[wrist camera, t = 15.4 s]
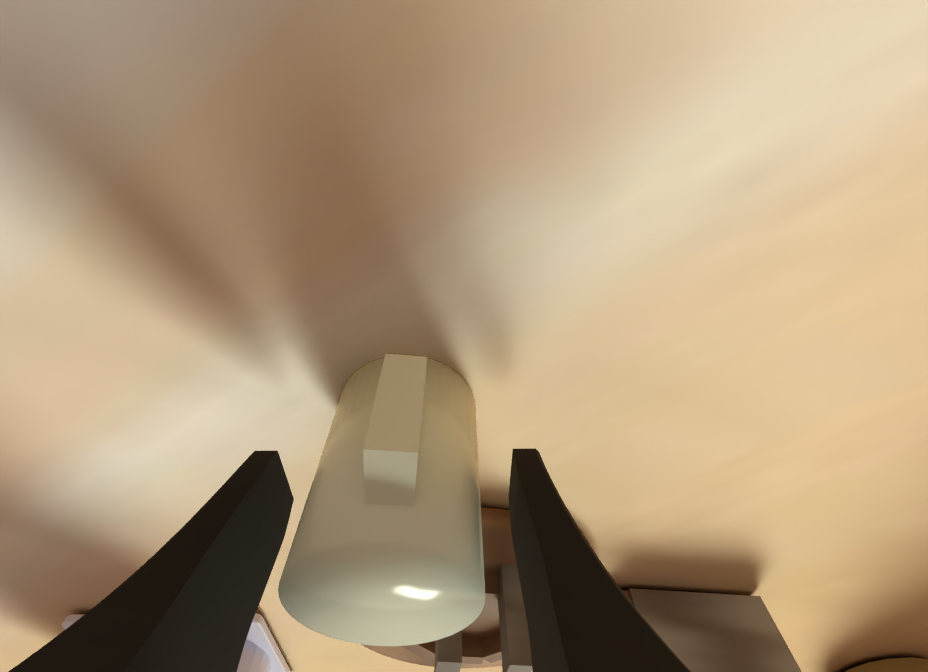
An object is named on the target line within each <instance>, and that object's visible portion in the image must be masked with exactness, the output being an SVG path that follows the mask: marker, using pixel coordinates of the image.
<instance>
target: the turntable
mask: <svg viewBox="0 0 928 672" xmlns="http://www.w3.org/2000/svg"><path fill="white" fill-rule="evenodd" d="M481 523H482V542H483V562H484V581H485V605H484V607H483V610H482V612H481V613H480V615H479V616H478V617H477V619H476V620H475V621H474V622H473V623H471V624H470V625H469V626H467V627H466V628H464V629H463V630H461V631H459V632H457V633H455V634H453V635H451V636H448V637H445V638H442V639H439V640H436V641H432V642H427V643H422V644H416V645H407V646H372V645H363V644H361V645H363V646H365V647H367V648H368V649H370V650H373V651H375V652H377V653H380V654H382V655H385V656H388V657H391V658H394V659H397V660H401V661H405V662H409V663H414V664H419V665H426V666H434V667H435V670H434V672H459V671H460V668H484V667H494V666H502V668H503V672H531V670H532V658H531V648H530V639H529V632H528V625H527V618H526V613H525V607H524V602H523V596H522V590H521V585H520V579H519V574H518V568H517V563H516V557H515V551H514V546H513V540H512V533H511V521H510V510H503V509H495V508H481ZM622 591H623V593H624V594H625V595H626V597H627V598H628V599H629V600H630V602H631V603H632V604H633V605H634V607H635V608H636V609H637V610H638V612H639V613H640V614H641V615H642V617H643V618H644V619H645V620H646V621H647V622H648V624H649V625H650V626H651V627H652V628H653V629H654V631H655V632H656V633H657V634H658V635H659V636H660V637H661V639H662V640H663V641H664V642H665V643H666V644H667V646H668V647H669V648H670V649H671V650H672V651H673V652H674V654H675V655H676V656H677V657H678V658H679V659H680V660H681V661H682V662H683V663H684V665H685V666H686V667H687V668H688V669H689V670H690V671H691V672H801V670H800V668H799V666H798V665H797V663H796V661H795V659H794V657H793V655H792V654H791V652H790V650H789V648H788V646H787V644H786V643H785V641H784V639H783V637H782V635H781V634H780V632H779V630H778V628H777V626H776V624H775V623H774V621H773V619H772V617H771V615H770V614H769V612H768V610H767V608H766V606H765V604H764V603H763V601H762V599H761V597H760V596H746V595H730V594H713V593H697V592H680V591H664V590H647V589H630V588H629V590H628V591H625V590H622Z"/></svg>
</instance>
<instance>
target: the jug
mask: <svg viewBox="0 0 928 672" xmlns="http://www.w3.org/2000/svg"><path fill="white" fill-rule="evenodd" d="M278 592H279V598H280V601H281V603H282V605H283V606H284V608H285V610H286V611H287V612H288V613H289V614H290V615H291V616H292V617H293V618H294V619H296V620H297V621H298V622H299V623H301V624H303V625H304V626H306V627H307V628H309V629H311V630H313V631H315V632H318V633H320V634H323V635H325V636H328V637H331V638H334V639H338V640H342V641H346V642H351V643H356V644H363V645H372V646H407V645H416V644H422V643H427V642H432V641H436V640H439V639H442V638H445V637H448V636H451V635H453V634H455V633H457V632H459V631H461V630H463V629H464V628H466V627H467V626H469V625H470V624H471V623H473V622H474V621H475V620H476V619H477V617H478V616H479V615H480V613H481V612H482V610H483V607H484V605H485V581H484V562H483V542H482V523H481V503H480V484H479V464H478V445H477V426H476V407H475V399H474V396H473V393H472V391H471V389H470V387H469V385H468V384H467V382H466V381H465V380H464V379H463V378H462V377H461V376H460V375H459V374H458V373H457V372H456V371H454V370H453V369H451V368H450V367H448V366H447V365H445V364H442V363H440V362H438V361H435V360H433V359H430V358H427V357H423V356H414V355H397V354H385V357H383V358H380V359H377V360H374V361H372V362H370V363H368V364H366V365H364V366H363V367H361V368H360V369H358V370H357V371H356V372H355V373H354V374H353V375H352V376H351V377H350V378H349V380H348V381H347V383H346V385H345V387H344V389H343V392H342V395H341V398H340V401H339V404H338V407H337V410H336V413H335V416H334V419H333V422H332V425H331V428H330V431H329V434H328V437H327V440H326V443H325V446H324V449H323V452H322V455H321V458H320V461H319V464H318V467H317V470H316V473H315V476H314V480H313V483H312V486H311V489H310V492H309V495H308V498H307V501H306V504H305V507H304V510H303V513H302V516H301V519H300V522H299V525H298V528H297V531H296V534H295V537H294V540H293V543H292V546H291V549H290V552H289V555H288V558H287V561H286V564H285V567H284V570H283V573H282V576H281V579H280V582H279V588H278Z"/></svg>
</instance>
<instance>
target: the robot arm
mask: <svg viewBox="0 0 928 672" xmlns="http://www.w3.org/2000/svg"><path fill="white" fill-rule="evenodd" d="M293 500H294V498H293V496H292V493H291V490H290V487H289V484H288V481H287V478H286V475H285V472H284V469H283V466H282V463H281V460H280V457H279V454H278V451H254V452H253V453H252V454H251V455H250V456H249V458H248V459H247V460H246V461H245V462H244V463H243V464H242V465H241V466H240V467H239V468H238V469H237V470H236V472H235V473H234V474H233V475H232V476H231V477H230V478H229V479H228V480H227V481H226V482H225V484H224V485H223V486H222V487H221V488H220V489H219V490H218V491H217V492H216V493H215V494H214V495H213V496H212V497H211V499H210V500H209V501H208V502H207V503H206V504H205V505H204V506H203V507H202V508H201V509H200V510H199V511H198V512H197V513H196V514H195V515H194V516H193V517H192V518H191V519H190V520H189V521H188V522H187V523H186V524H185V525H184V526H183V527H182V528H181V529H180V530H179V531H178V532H177V533H176V534H175V535H174V536H173V537H172V538H171V539H170V540H169V541H168V542H167V543H166V544H165V545H164V546H163V547H162V548H161V549H160V550H159V551H158V552H157V553H156V554H155V555H154V556H152V557H151V558H150V559H149V560H148V561H147V562H146V563H145V564H144V565H143V566H142V567H140V568H139V569H138V570H137V571H136V572H135V573H134V574H133V575H132V576H130V577H129V578H128V579H127V580H126V581H125V582H124V583H122V584H121V585H120V586H119V587H118V588H117V589H115V590H114V591H113V592H112V593H111V594H110V595H108V596H107V597H106V598H105V599H104V600H102V601H101V602H100V603H99V604H97V605H96V606H95V607H94V608H92V609H91V610H90V611H89V612H87V613H86V614H73V615H69V616H67V617H66V619H65V620H64V621H63V623H62V627H63V628H64V629H65V630H64V631H63V632H62V633H60V634H59V635H58V636H57V637H55V638H54V639H53V640H51V641H50V642H49V643H47V644H46V645H45V646H43V647H42V648H41V649H39V650H38V651H37V652H35V653H34V654H32V655H31V656H30V657H28V658H27V659H26V660H24V661H23V662H21V663H20V664H19V665H17V666H16V667H14V668H13V669H12V670H10V671H9V672H291V671H290V669H289V667H288V665H287V663H286V661H285V659H284V657H283V655H282V653H281V652H280V650H279V648H278V646H277V644H276V642H275V640H274V638H273V636H272V634H271V632H270V630H269V628H268V626H267V624H266V623H265V621H264V619H263V617H262V616H261V615H260V614H258V613H256V611H257V608H258V605H259V603H260V600H261V597H262V595H263V592H264V590H265V587H266V584H267V582H268V579H269V576H270V574H271V571H272V569H273V566H274V563H275V561H276V558H277V555H278V553H279V550H280V547H281V544H282V542H283V539H284V536H285V532H286V528H287V525H288V521H289V517H290V512H291V508H292V504H293ZM509 508H510V521H511V533H512V540H513V546H514V551H515V557H516V563H517V568H518V574H519V579H520V585H521V590H522V596H523V602H524V607H525V613H526V618H527V625H528V632H529V639H530V648H531V658H532V668H533V672H691V671H690V670H689V669H688V668H687V667H686V666H685V665H684V663H683V662H682V661H681V660H680V659H679V658H678V657H677V656H676V655H675V654H674V652H673V651H672V650H671V649H670V648H669V647H668V646H667V644H666V643H665V642H664V641H663V640H662V639H661V637H660V636H659V635H658V634H657V633H656V632H655V631H654V629H653V628H652V627H651V626H650V625H649V624H648V622H647V621H646V620H645V619H644V618H643V617H642V615H641V614H640V613H639V612H638V610H637V609H636V608H635V607H634V605H633V604H632V603H631V602H630V600H629V599H628V598H627V597H626V595H625V594H624V593H623V591H622V590H621V589H620V587H619V586H618V585H617V583H616V582H615V581H614V579H613V578H612V577H611V575H610V574H609V573H608V571H607V570H606V568H605V567H604V566H603V564H602V563H601V561H600V560H599V558H598V557H597V556H596V554H595V553H594V551H593V550H592V548H591V546H590V545H589V543H588V542H587V540H586V539H585V537H584V536H583V534H582V533H581V531H580V529H579V528H578V526H577V525H576V523H575V521H574V519H573V518H572V516H571V514H570V513H569V511H568V509H567V508H566V506H565V504H564V502H563V501H562V499H561V497H560V495H559V493H558V491H557V489H556V488H555V486H554V484H553V482H552V480H551V478H550V476H549V474H548V472H547V469H546V467H545V465H544V463H543V461H542V458H541V456H540V453H539V451H537V450H536V449H513V454H512V465H511V476H510V487H509Z"/></svg>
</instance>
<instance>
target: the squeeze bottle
mask: <svg viewBox="0 0 928 672" xmlns="http://www.w3.org/2000/svg"><path fill="white" fill-rule="evenodd" d="M845 672H928V659H921V658H913V657H907V658H891V659H883V660H878V661H873V662H868V663H865V664H862V665H859V666H856V667H853V668H851V669H849V670H847V671H845Z"/></svg>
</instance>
